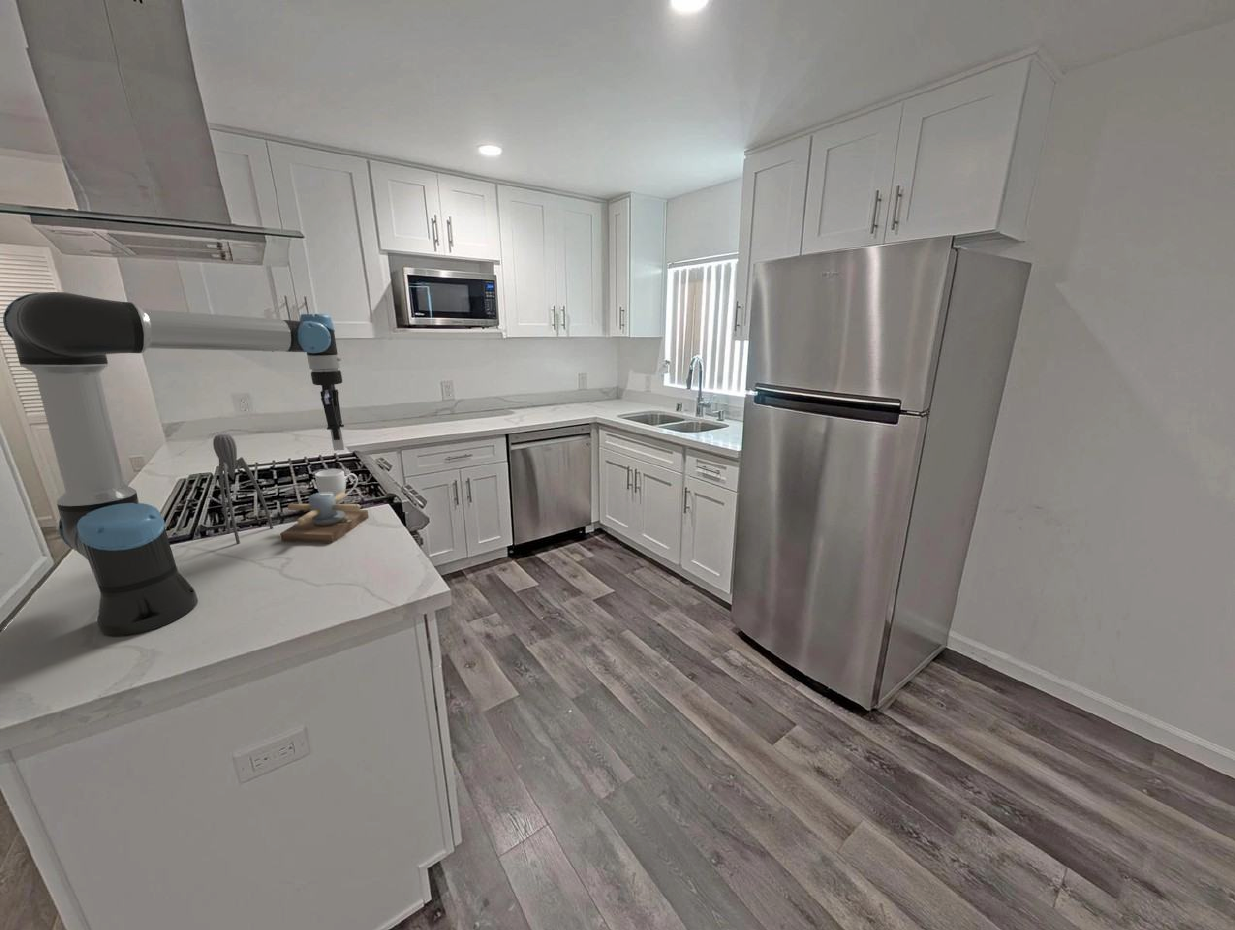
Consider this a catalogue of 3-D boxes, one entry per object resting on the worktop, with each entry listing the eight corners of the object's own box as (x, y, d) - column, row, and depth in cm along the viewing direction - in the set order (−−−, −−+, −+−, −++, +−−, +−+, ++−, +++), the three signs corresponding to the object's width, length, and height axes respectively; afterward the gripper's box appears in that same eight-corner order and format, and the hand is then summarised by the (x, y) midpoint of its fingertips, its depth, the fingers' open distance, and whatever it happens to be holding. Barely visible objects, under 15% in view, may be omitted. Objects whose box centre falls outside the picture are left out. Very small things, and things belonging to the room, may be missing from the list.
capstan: (266, 535, 132) (260, 508, 129) (313, 507, 152) (308, 483, 149) (341, 536, 131) (336, 508, 129) (379, 507, 151) (375, 483, 149)
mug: (321, 511, 156) (314, 478, 152) (320, 503, 163) (314, 471, 159) (362, 503, 162) (357, 471, 159) (359, 496, 169) (354, 465, 165)
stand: (332, 542, 134) (330, 529, 132) (281, 541, 134) (278, 528, 133) (368, 517, 151) (366, 505, 150) (323, 516, 152) (320, 504, 150)
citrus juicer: (238, 544, 133) (211, 439, 124) (209, 541, 135) (180, 437, 126) (274, 527, 144) (251, 430, 135) (246, 524, 146) (222, 428, 137)
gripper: (336, 371, 132) (350, 453, 139) (343, 367, 144) (356, 443, 151) (305, 372, 130) (321, 456, 137) (314, 368, 141) (329, 445, 148)
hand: (339, 449), depth 144 cm, fingers closed
